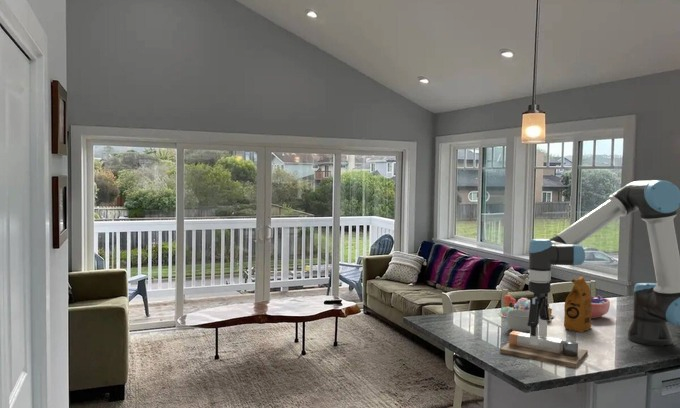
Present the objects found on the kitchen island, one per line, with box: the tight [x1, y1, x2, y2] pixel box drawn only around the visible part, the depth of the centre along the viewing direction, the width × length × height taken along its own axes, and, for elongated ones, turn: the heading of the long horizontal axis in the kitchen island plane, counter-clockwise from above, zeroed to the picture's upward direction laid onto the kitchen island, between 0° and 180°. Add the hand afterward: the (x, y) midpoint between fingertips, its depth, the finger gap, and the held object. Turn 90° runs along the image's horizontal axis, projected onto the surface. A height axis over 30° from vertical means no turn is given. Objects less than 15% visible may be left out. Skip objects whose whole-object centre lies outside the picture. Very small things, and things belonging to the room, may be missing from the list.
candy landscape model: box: [497, 294, 555, 323], centre depth 242 cm, size 25×24×9 cm
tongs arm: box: [508, 331, 561, 354], centre depth 188 cm, size 18×2×4 cm, turn 53°
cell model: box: [591, 295, 611, 319], centre depth 241 cm, size 17×20×11 cm
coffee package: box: [563, 275, 592, 333], centre depth 221 cm, size 10×12×22 cm
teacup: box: [507, 309, 533, 333], centre depth 218 cm, size 14×11×8 cm
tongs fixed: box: [511, 330, 579, 357], centre depth 188 cm, size 24×5×4 cm, turn 53°
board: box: [499, 342, 589, 369], centre depth 188 cm, size 26×18×2 cm
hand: (538, 340), depth 189 cm, fingers open, 10 cm apart
